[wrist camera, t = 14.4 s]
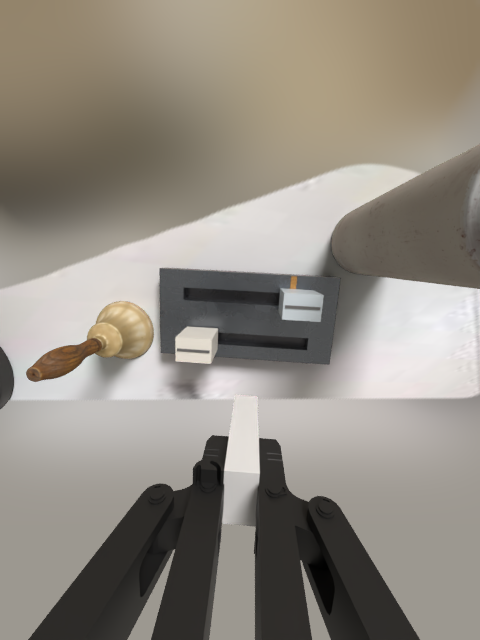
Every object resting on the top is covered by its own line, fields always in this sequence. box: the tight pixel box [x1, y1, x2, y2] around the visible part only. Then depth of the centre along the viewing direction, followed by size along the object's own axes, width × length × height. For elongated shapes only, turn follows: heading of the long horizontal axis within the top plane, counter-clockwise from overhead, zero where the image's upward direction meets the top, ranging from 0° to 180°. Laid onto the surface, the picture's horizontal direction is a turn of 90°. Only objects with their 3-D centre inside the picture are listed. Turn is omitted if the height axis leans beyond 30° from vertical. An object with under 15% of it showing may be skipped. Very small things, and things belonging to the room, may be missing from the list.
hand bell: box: [26, 301, 154, 382], centre depth 30 cm, size 8×8×16 cm
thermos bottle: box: [331, 144, 480, 289], centre depth 20 cm, size 8×8×28 cm
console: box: [160, 268, 341, 364], centre depth 35 cm, size 22×11×3 cm, turn 87°
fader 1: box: [175, 326, 218, 364], centre depth 33 cm, size 4×3×6 cm
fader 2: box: [278, 288, 324, 322], centre depth 31 cm, size 4×3×7 cm
